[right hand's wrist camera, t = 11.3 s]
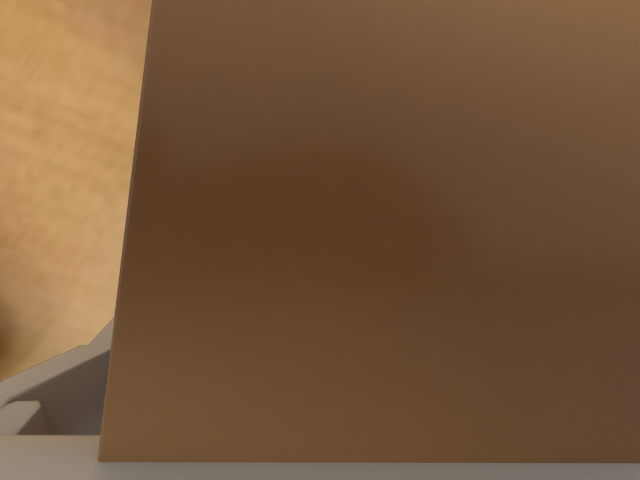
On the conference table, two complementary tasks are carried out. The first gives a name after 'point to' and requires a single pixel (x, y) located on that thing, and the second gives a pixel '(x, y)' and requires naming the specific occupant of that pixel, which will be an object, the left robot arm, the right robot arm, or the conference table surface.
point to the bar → (382, 235)
